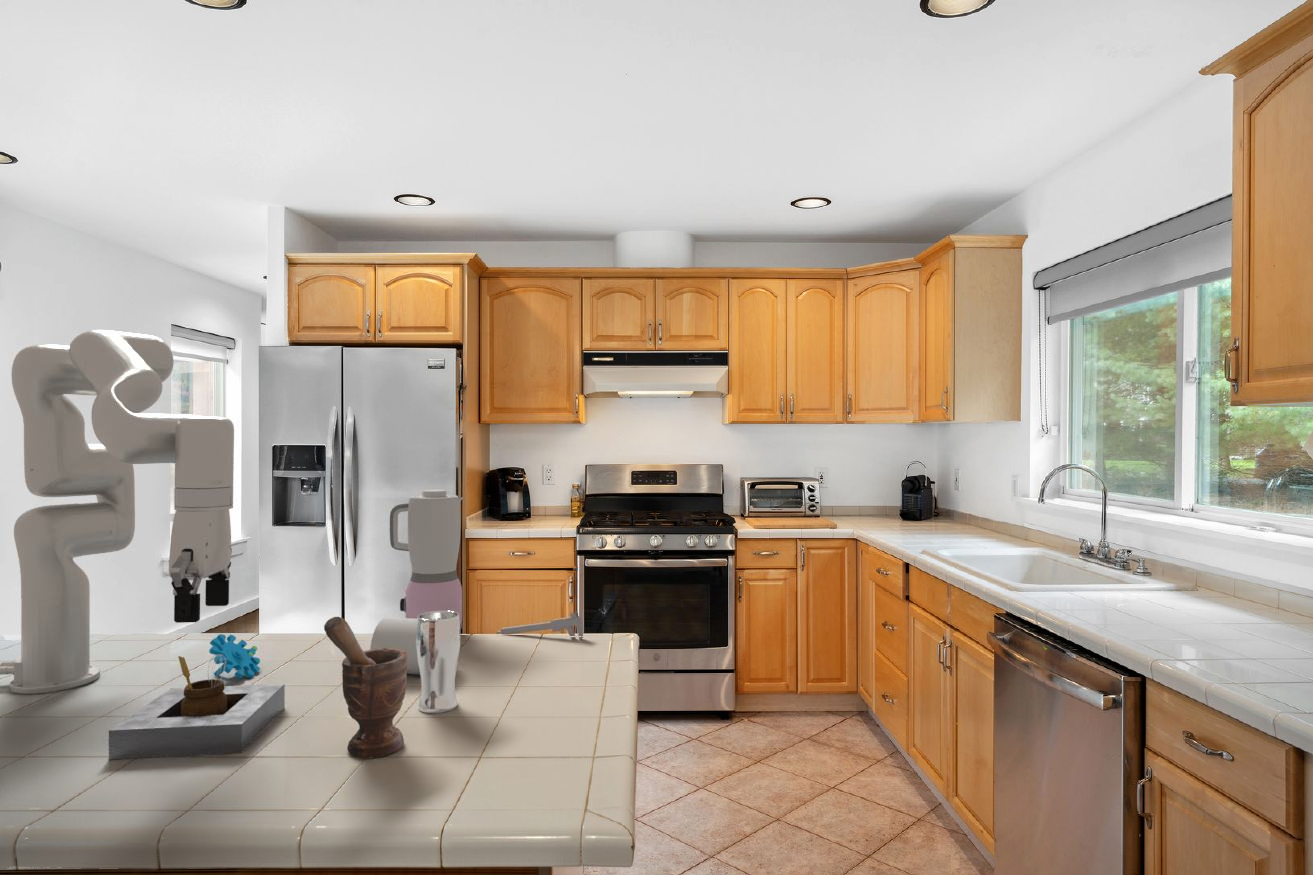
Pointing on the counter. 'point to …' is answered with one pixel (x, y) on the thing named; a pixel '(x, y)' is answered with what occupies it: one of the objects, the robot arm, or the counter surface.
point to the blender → (431, 552)
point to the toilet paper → (398, 639)
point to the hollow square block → (197, 724)
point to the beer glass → (438, 659)
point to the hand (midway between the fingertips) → (202, 613)
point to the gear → (234, 656)
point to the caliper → (550, 626)
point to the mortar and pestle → (370, 691)
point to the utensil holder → (203, 695)
